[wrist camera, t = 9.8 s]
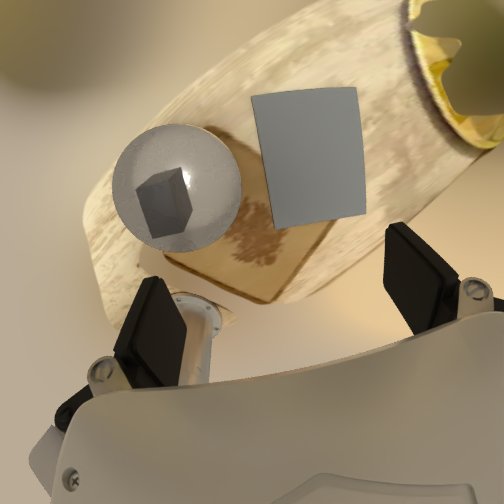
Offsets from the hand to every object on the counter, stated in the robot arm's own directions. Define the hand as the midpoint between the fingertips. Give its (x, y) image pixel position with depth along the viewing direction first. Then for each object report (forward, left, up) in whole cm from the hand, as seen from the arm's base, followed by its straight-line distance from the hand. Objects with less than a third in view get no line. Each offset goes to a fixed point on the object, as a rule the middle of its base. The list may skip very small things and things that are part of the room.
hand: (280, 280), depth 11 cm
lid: (+1, +8, -17) cm, 19 cm away
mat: (-1, -9, -29) cm, 31 cm away
